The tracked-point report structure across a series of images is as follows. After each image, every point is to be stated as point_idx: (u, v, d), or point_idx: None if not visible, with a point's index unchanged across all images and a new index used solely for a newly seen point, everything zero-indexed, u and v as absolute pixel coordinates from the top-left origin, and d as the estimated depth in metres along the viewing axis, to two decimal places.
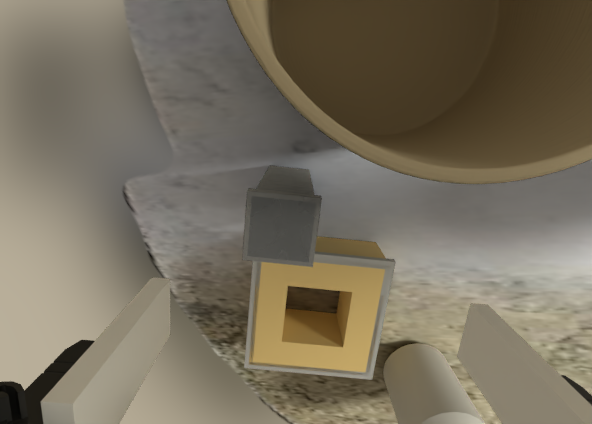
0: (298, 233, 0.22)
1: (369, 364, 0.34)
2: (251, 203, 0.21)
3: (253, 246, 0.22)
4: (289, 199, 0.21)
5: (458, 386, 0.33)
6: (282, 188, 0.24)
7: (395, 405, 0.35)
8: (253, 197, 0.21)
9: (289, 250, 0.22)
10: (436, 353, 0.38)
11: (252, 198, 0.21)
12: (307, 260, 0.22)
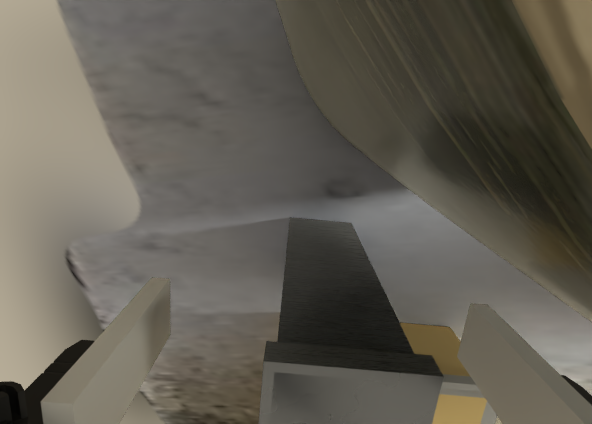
0: None
1: None
2: (273, 387, 0.09)
3: None
4: (365, 378, 0.09)
5: None
6: (331, 309, 0.12)
7: None
8: (278, 375, 0.09)
9: None
10: None
11: (276, 376, 0.09)
12: None
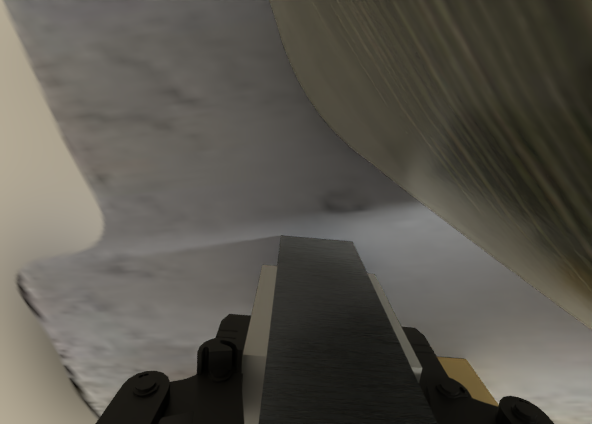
0: None
1: None
2: None
3: None
4: None
5: None
6: (334, 384, 0.09)
7: None
8: None
9: None
10: None
11: None
12: None
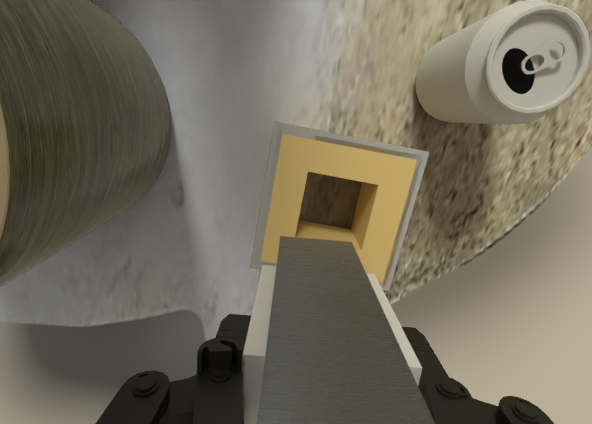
0: None
1: (406, 154, 0.28)
2: None
3: None
4: None
5: (456, 38, 0.25)
6: (332, 385, 0.09)
7: (474, 122, 0.27)
8: None
9: None
10: (428, 54, 0.29)
11: None
12: None
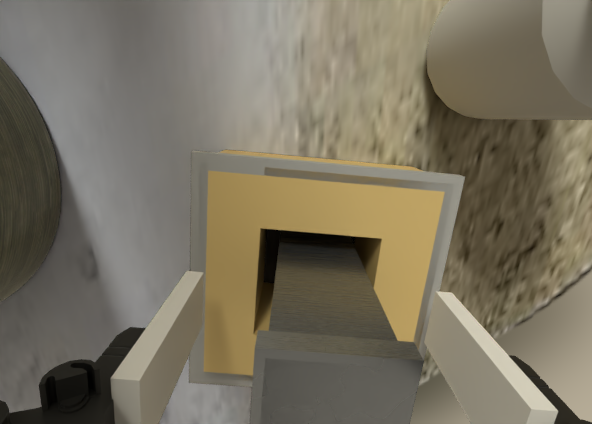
0: None
1: (425, 184, 0.16)
2: (264, 372, 0.09)
3: None
4: (350, 363, 0.09)
5: None
6: (321, 301, 0.12)
7: (541, 118, 0.15)
8: (269, 361, 0.09)
9: None
10: (446, 11, 0.18)
11: (267, 362, 0.09)
12: None
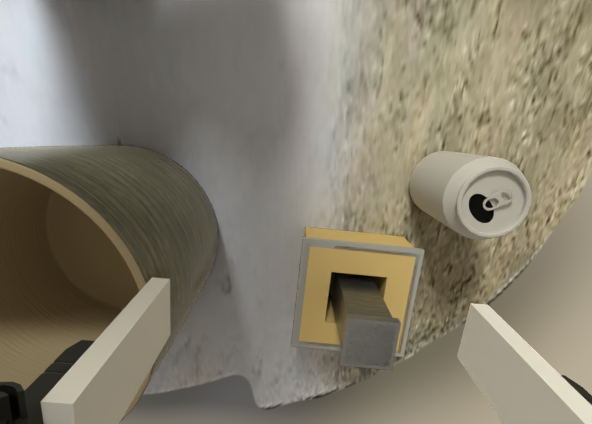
0: (382, 347, 0.29)
1: (407, 253, 0.36)
2: (349, 326, 0.29)
3: (348, 356, 0.30)
4: (377, 323, 0.29)
5: (435, 171, 0.33)
6: (363, 304, 0.32)
7: None
8: (351, 322, 0.29)
9: (375, 358, 0.30)
10: (417, 169, 0.38)
11: (350, 323, 0.29)
12: (388, 365, 0.30)
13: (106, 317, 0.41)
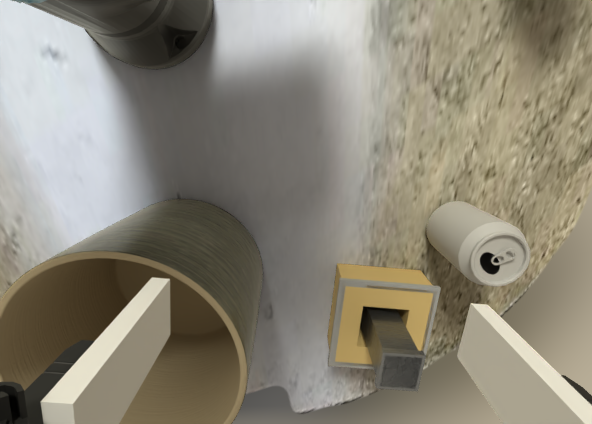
0: (410, 373, 0.37)
1: (426, 291, 0.43)
2: (384, 358, 0.36)
3: (383, 381, 0.37)
4: (407, 356, 0.36)
5: (451, 226, 0.40)
6: (393, 337, 0.39)
7: None
8: (386, 355, 0.36)
9: (404, 382, 0.37)
10: (434, 218, 0.45)
11: (385, 356, 0.36)
12: (414, 388, 0.37)
13: (169, 342, 0.48)
